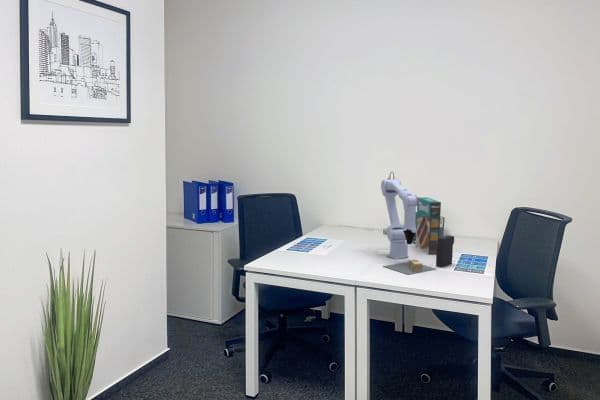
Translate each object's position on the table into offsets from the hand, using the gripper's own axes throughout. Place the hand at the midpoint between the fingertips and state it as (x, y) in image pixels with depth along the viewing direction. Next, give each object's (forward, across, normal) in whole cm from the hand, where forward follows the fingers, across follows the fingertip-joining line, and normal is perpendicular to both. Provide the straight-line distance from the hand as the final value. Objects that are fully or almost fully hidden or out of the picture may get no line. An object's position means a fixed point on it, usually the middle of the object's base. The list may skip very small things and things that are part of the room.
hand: (409, 244), depth 272 cm
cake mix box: (+10, -29, +22) cm, 37 cm away
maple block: (+8, +9, -2) cm, 12 cm away
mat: (+11, +9, -3) cm, 14 cm away
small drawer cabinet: (+11, +5, +17) cm, 21 cm away
